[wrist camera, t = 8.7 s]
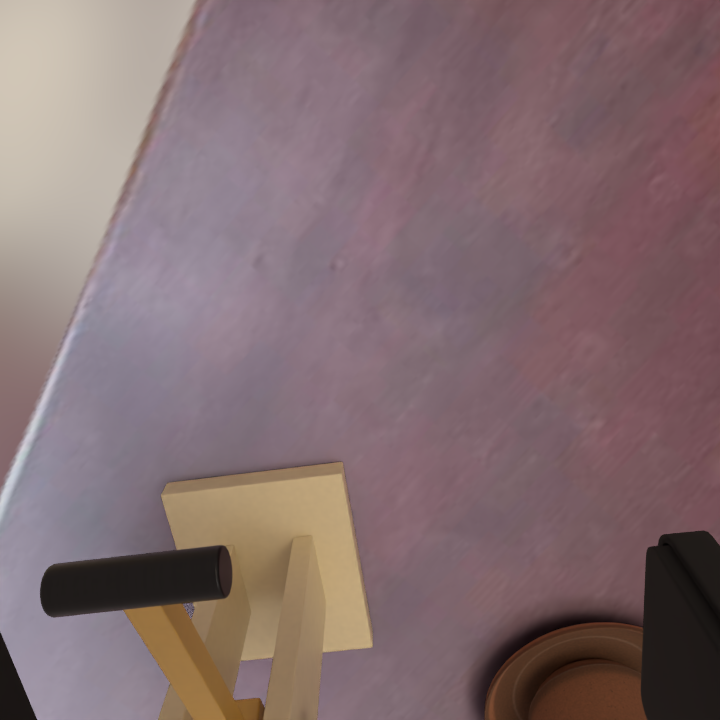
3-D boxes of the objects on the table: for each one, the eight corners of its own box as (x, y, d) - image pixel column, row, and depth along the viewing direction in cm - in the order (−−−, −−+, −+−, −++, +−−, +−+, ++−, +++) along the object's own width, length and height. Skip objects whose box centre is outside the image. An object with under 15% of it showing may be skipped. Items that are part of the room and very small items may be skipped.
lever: (56, 539, 19) (25, 615, 18) (224, 520, 19) (213, 595, 17) (189, 737, 27) (179, 804, 26) (310, 726, 27) (308, 792, 25)
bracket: (166, 482, 34) (58, 693, 22) (342, 461, 33) (329, 666, 22) (215, 647, 38) (145, 901, 26) (372, 631, 37) (375, 882, 26)
